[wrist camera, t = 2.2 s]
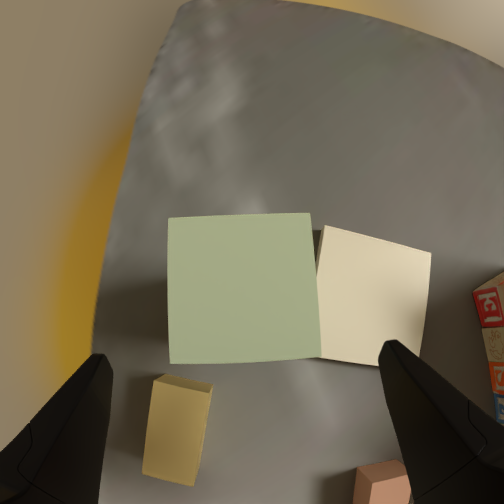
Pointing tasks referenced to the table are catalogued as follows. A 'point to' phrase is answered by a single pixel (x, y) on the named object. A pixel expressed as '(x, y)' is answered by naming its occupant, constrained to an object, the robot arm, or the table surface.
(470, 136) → the table surface
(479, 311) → the stack of blocks
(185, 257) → the sage brick
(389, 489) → the terracotta brick
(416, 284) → the cream square slab
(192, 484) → the ochre brick
